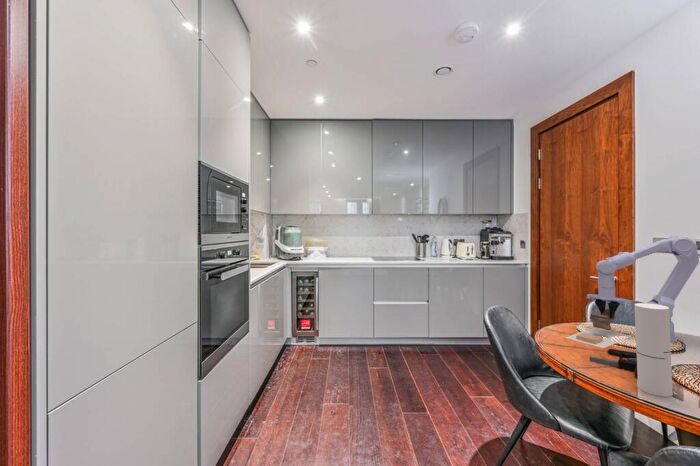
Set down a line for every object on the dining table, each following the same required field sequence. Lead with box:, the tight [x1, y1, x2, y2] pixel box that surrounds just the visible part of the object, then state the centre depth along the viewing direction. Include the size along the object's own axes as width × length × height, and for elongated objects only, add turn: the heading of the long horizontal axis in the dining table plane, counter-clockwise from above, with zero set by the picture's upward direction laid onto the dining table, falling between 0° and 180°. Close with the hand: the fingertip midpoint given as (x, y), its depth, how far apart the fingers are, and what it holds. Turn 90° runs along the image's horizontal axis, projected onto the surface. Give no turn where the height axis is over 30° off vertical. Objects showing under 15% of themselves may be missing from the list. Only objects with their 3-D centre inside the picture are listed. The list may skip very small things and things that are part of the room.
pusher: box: [589, 308, 616, 331], centre depth 131 cm, size 11×6×6 cm, turn 117°
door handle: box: [589, 348, 638, 379], centre depth 104 cm, size 3×20×16 cm
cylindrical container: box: [634, 302, 674, 398], centre depth 87 cm, size 7×7×25 cm
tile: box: [576, 333, 603, 344], centre depth 125 cm, size 2×7×6 cm
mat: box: [564, 327, 633, 349], centre depth 129 cm, size 25×14×1 cm, turn 116°
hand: (607, 317), depth 132 cm, fingers closed on pusher, 2 cm apart
